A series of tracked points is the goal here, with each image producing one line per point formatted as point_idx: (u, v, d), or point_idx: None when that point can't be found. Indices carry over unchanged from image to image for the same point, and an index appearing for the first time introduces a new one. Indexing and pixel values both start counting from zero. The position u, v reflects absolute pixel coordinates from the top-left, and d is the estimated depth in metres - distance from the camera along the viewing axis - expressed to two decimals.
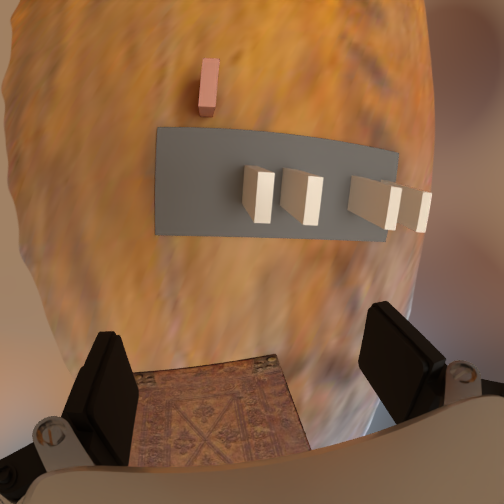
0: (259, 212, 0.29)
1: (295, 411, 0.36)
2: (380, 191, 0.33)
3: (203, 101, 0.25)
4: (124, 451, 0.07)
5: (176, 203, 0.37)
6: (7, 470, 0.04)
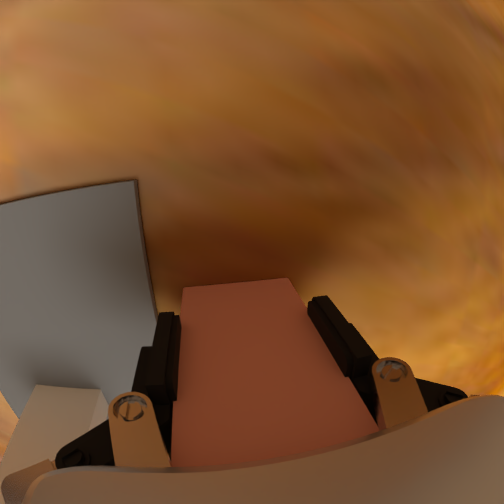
0: None
1: None
2: None
3: None
4: None
5: None
6: (78, 453, 0.05)
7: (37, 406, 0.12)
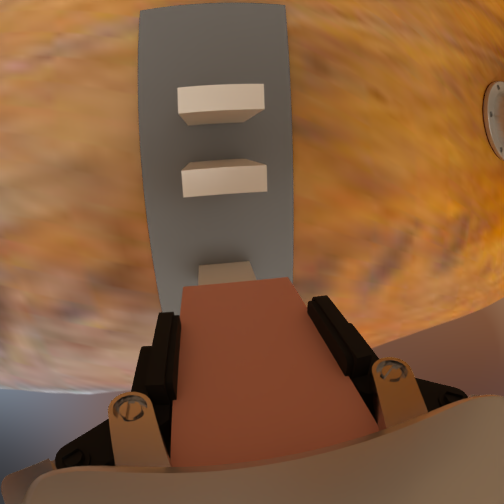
0: (195, 92, 0.15)
1: None
2: None
3: None
4: None
5: (183, 28, 0.21)
6: (78, 453, 0.05)
7: None
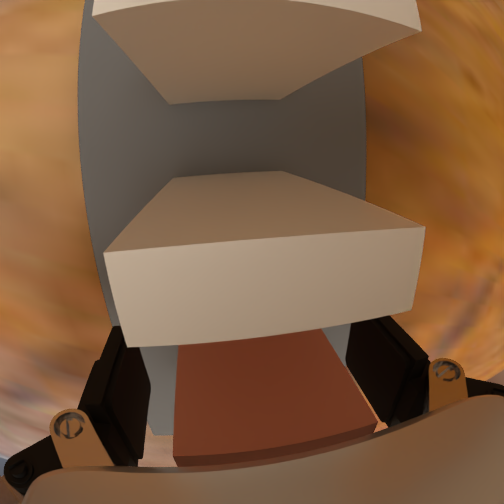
0: None
1: None
2: None
3: (197, 464, 0.06)
4: (139, 443, 0.07)
5: None
6: (23, 464, 0.04)
7: None
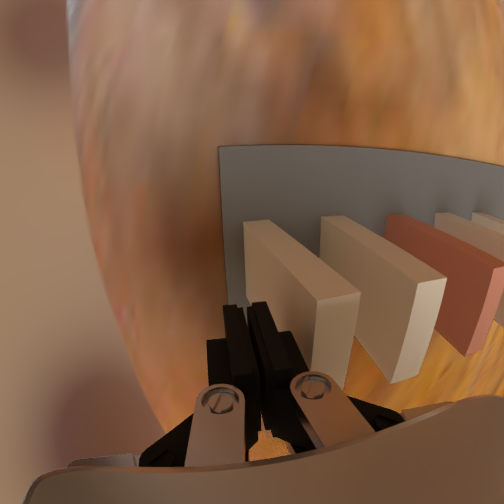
0: None
1: None
2: None
3: (503, 275, 0.11)
4: None
5: None
6: (168, 455, 0.05)
7: None
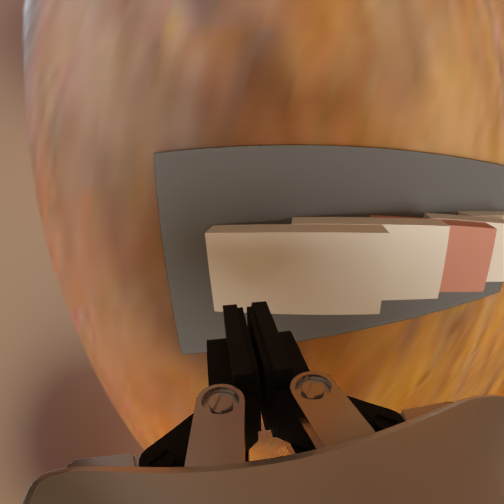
0: None
1: None
2: None
3: None
4: None
5: None
6: (168, 455, 0.05)
7: None
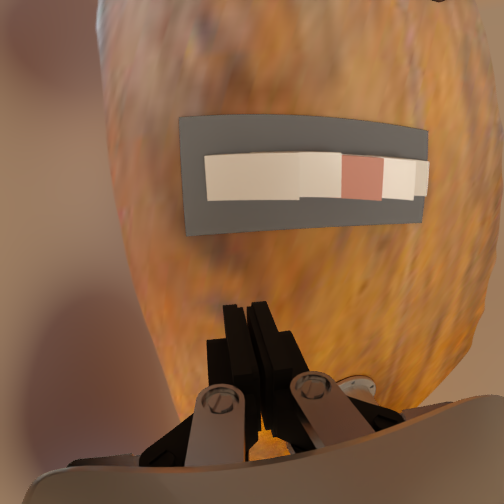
0: None
1: None
2: None
3: None
4: None
5: (413, 157, 0.37)
6: (168, 455, 0.05)
7: None
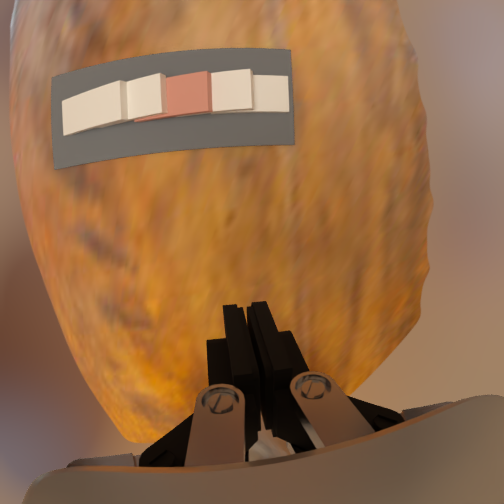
0: None
1: None
2: None
3: (210, 76, 0.31)
4: None
5: None
6: (168, 455, 0.05)
7: None
